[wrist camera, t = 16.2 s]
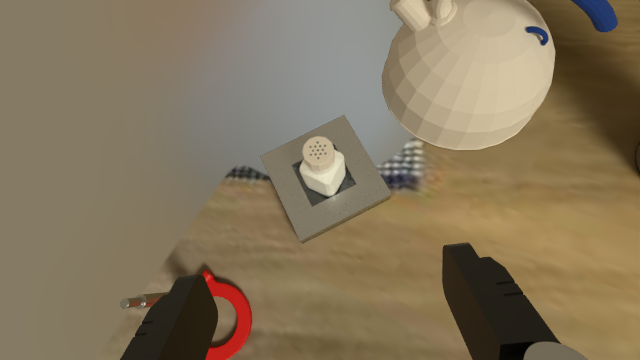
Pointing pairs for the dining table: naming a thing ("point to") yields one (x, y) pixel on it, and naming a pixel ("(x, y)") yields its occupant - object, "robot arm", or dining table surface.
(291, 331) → the dining table surface
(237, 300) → the tow hook
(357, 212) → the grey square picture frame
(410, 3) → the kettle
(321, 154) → the salt shaker
